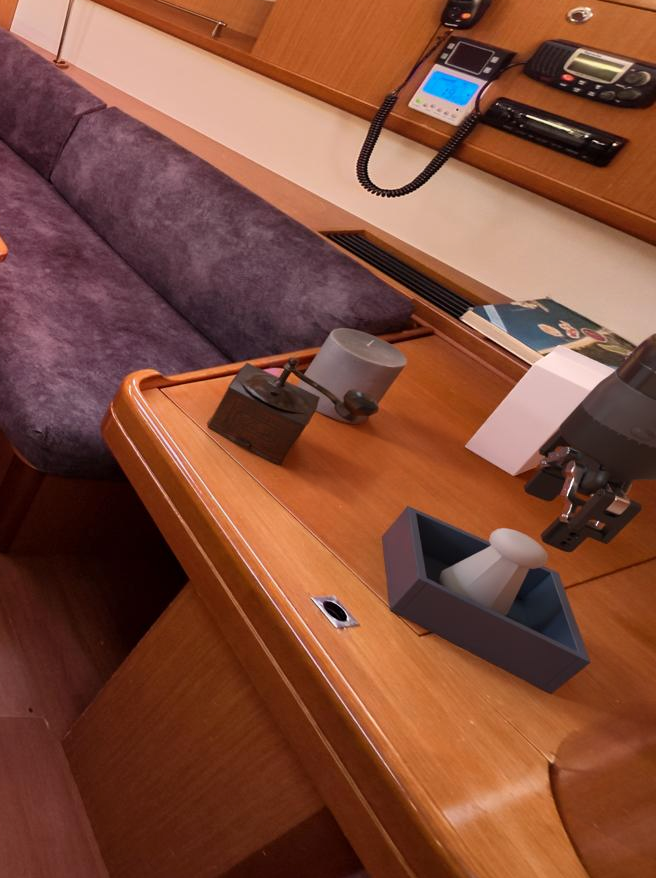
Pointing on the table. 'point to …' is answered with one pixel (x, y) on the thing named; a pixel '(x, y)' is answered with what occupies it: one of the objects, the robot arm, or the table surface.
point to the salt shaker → (496, 570)
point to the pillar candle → (353, 368)
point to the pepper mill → (277, 410)
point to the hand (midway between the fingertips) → (544, 519)
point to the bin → (471, 624)
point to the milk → (536, 409)
